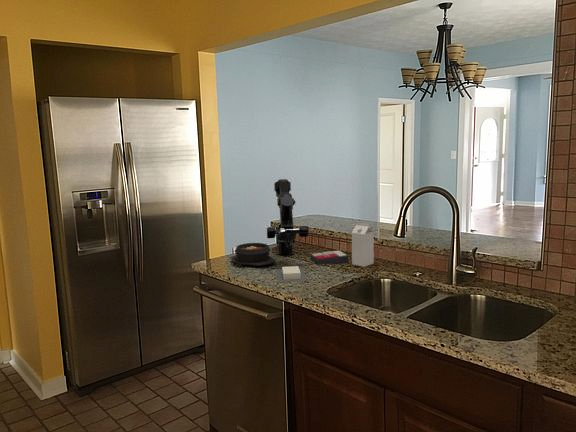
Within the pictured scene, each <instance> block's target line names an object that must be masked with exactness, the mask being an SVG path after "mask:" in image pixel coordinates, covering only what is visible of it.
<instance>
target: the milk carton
mask: <svg viewBox="0 0 576 432" xmlns="http://www.w3.org/2000/svg"><path fill="white" fill-rule="evenodd" d="M374 234H375V232H374V230H373V229H372V228H371V227H370V223H363V222H356V225H355V227H354V228H353V230H352V231H351V265H353V266H359V267H363V268H365V267H367V266H370V265H374V264H375V263H374V261H375V260H374V259H375V257H374V254H375V253H374V252H375V251H374V250H375V249H374V247H375V244H374V243H375V242H374V241H375V240H374V239H375V237H374Z"/></svg>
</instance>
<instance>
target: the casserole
mask: <svg viewBox="0 0 576 432" xmlns="http://www.w3.org/2000/svg"><path fill="white" fill-rule="evenodd" d="M270 251H271V248H270V246H269V245H268V244H267V243H263V242H261V243H260V242H247V243H243V244H238V245H237V246H236V247H235V250H234V254H235V255H232V256H231V257H230V260H231V261H233V262H234V263H236V264H239V265H242V266H246V267H247V266H249V267H252V266H253V267H257V266H267V265H271V264H274V263H276V262H277V259H274V258H273V257H272V256H270Z"/></svg>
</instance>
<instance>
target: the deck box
mask: <svg viewBox="0 0 576 432" xmlns="http://www.w3.org/2000/svg"><path fill="white" fill-rule="evenodd" d="M299 268H300V267H299V266H297V265H296V266H294V265H293V266H291V265H290V266H281V269H282V274H283V279H284V280H293V279H301V273H300V270H299Z"/></svg>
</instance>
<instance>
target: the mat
mask: <svg viewBox="0 0 576 432" xmlns="http://www.w3.org/2000/svg"><path fill="white" fill-rule="evenodd" d="M275 270H276V271H275V272H276V278H277V283H287V282H306V281H308V279H307V276H306V273H305V270H304V268H303V267H299V270H300V273H301V279H293V280H284V279H283V274H282V268H276V269H275Z"/></svg>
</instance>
